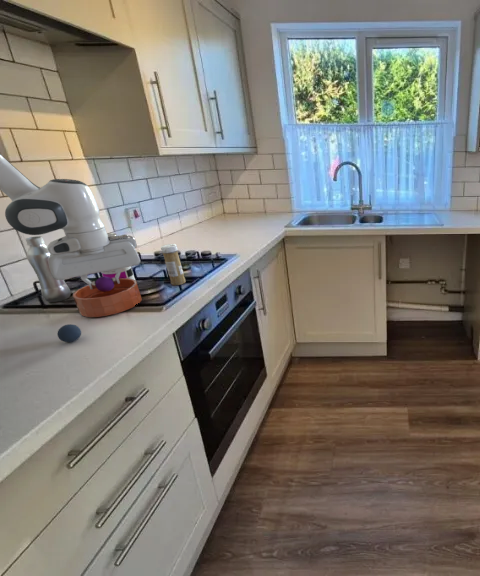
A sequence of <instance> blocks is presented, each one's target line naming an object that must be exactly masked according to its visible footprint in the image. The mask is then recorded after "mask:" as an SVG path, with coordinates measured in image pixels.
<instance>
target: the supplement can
mask: <svg viewBox="0 0 480 576" xmlns="http://www.w3.org/2000/svg"><path fill="white" fill-rule="evenodd" d="M120 271H121V273H120V276H119V278H118V279H124V278H128V279H134V280H135V281H136V278H135V275H134V271H133V268H132V266H130V267H125V268H120ZM101 275H102V277H109V278H111V279H112V278H113V277H115V276H116V273H115V271H114V270H110V271H104V272H101Z"/></svg>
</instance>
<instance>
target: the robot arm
mask: <svg viewBox="0 0 480 576" xmlns="http://www.w3.org/2000/svg"><path fill="white" fill-rule="evenodd" d="M0 191H1V192H2V193H3V194H4V195H6V197H8V198H9V199H10V200H11V202H10V203H9V204H8V205H7V206H6V208H5V211H4V216H5V220H6V221H7V223H8V224H9V226H10V227H12V229H14V230H16V231H17V232H19V233H21V234H24V235H28V236H41V235H45V234H49V233H52V232H55V231H58V230H62V231H63V232H64V236H61V237H60V238H59V237H58V238H57V239H54V240H52V241H50V242H49V243H48V244H47V246H48V247H47V248H48V251H49V253H50V256H49V268H50V272H51V275H52V277H53V278H54V279H56V280H63V279H64V280H67V279H73V278H79V277H80V279H81V281H82V282H84V283H86V284H87V285H89V287H90V289H96V288H97V287H96V286H95V285H96V284H95V282H96V280H93V281H92V280H90V279H89V278H88V277H89V275H94V274H99V273H102V272H104V271H110V270H114V271H115V273H116V276H115V277H113V278H112V280H113V282H114V285H115V284H120V282H119V279H118V278H119V276H120V273H121V271H120V268H125V267H130V266H131V267H135V266H139V265H140V263H141V259H140V256H139V254H138V253H139V252H137V249H136V248H137V246H138V245H137V244H138V243H137V241H136V239H135V237H134V236H132V235H128V234H121V235H117V236H111V237H108V235H107V233H108V232H107V228H106V226H105V224H104V223H103V221H102V219H101V216H100V214H101V211H100V209H99V205H98V203H97V200H96V197H95V196H94V193H93V191H92V189H91V188H90V187H89V185H87V183H86V182H83V181H81V180H77V179H70V178H69V179H68V178H54V179H53V178H52V179H50V180H48V182H47V183H46V184H44V185H43V186H41V187H40V186H39V185H37V184H35V183H33V181H31V180H30V178H28V177H26V175H25V174H24V173H22V172H21V171H20V170H19V169H18V168H17V167H16V166H14V165H13V164H12V163H11V162H10V161H9V160H8V159H7V158H5V157H4V156H3V155H2V153H0Z"/></svg>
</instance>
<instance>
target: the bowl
mask: <svg viewBox="0 0 480 576" xmlns="http://www.w3.org/2000/svg"><path fill="white" fill-rule="evenodd" d="M119 282H120V284H115V285H114V287H113V289H112V290H110V291H107V292H103V291H100V290H98V289H97V288H96V289H90V287H89V284H87V285H85V286H83V287H81V288H79V289H77V290H76V291H74V292H73V293H72V298H73V300H74V303H75V306H76V308H77V311H78V313H79V314H80V315H81V317H86V318H99V317H107V316H111V315H116V314H119V313H122V312H125V311H128V310H130V309H132V308H135V307H136V306H137V305H139V304H140V303H141V302H142V300H143V298H142V294H141V290H140V288H139V284H138V281H137V280H136V279H135V280H134V279H128V278H124V279H119ZM138 303H139V304H138ZM136 304H137V305H136ZM135 305H136V306H135Z"/></svg>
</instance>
